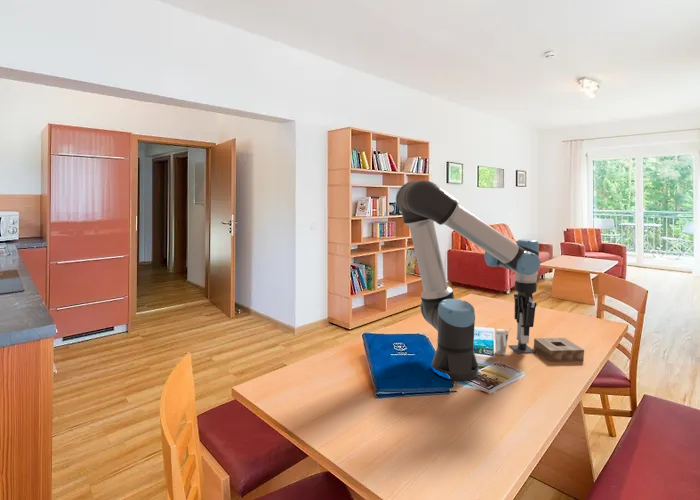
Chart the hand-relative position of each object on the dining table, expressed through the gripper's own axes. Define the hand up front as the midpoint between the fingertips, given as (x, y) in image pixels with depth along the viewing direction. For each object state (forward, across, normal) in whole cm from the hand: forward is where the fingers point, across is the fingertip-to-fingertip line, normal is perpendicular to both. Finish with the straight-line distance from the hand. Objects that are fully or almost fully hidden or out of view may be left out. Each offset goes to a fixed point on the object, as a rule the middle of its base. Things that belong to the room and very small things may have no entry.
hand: (522, 341), depth 151 cm
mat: (+3, 0, 0) cm, 3 cm away
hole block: (+3, -5, -11) cm, 13 cm away
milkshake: (+4, -3, +9) cm, 10 cm away
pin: (+3, 0, 0) cm, 3 cm away
